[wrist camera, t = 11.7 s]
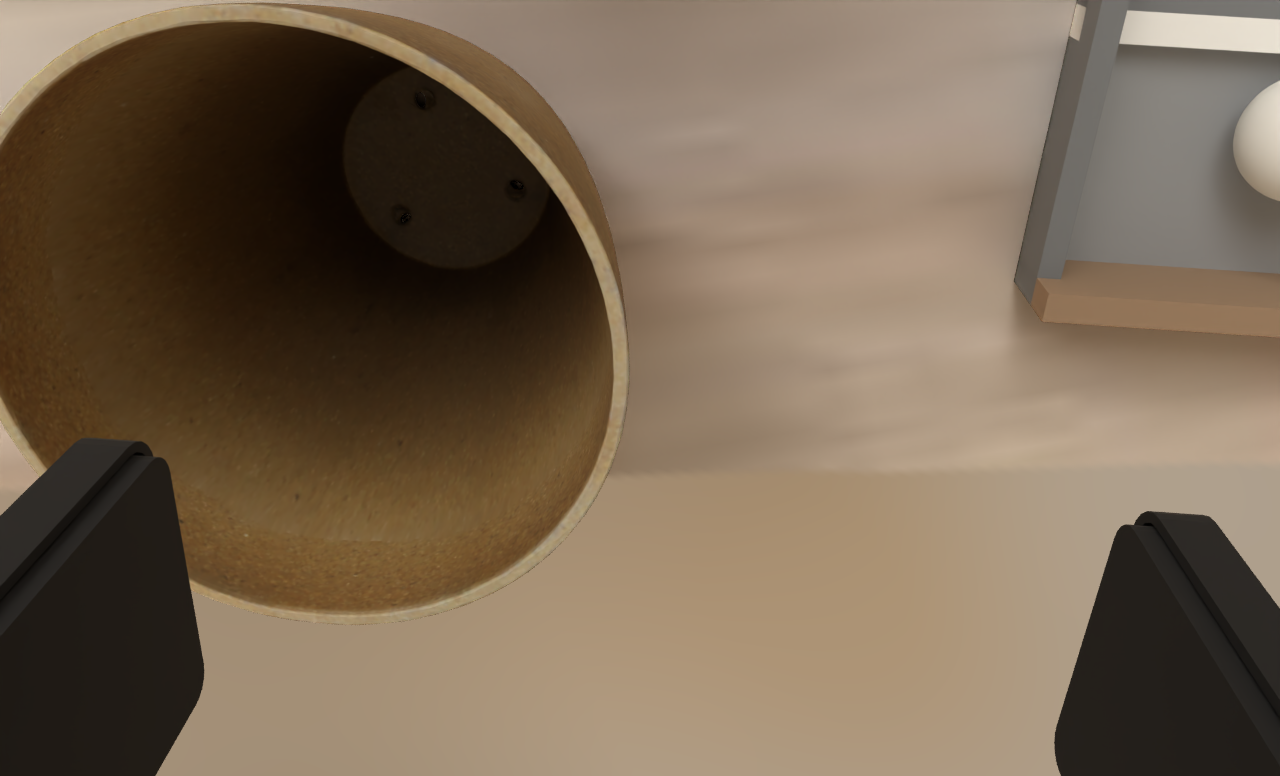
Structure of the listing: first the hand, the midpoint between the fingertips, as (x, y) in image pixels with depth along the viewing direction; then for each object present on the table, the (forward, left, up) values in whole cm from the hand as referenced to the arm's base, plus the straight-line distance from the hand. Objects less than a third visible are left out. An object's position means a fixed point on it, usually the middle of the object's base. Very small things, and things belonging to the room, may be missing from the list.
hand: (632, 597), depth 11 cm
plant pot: (+4, -8, -28) cm, 30 cm away
